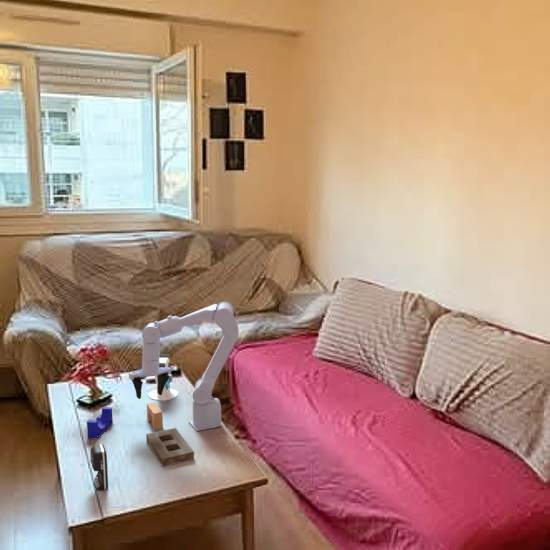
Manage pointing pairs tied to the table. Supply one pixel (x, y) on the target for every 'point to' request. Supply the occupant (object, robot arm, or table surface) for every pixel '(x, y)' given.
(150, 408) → the prong clip
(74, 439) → the table surface
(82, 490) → the table surface
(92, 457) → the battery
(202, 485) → the table surface
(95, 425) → the blue cradle block
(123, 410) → the table surface
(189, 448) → the brown board with holes
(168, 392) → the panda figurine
